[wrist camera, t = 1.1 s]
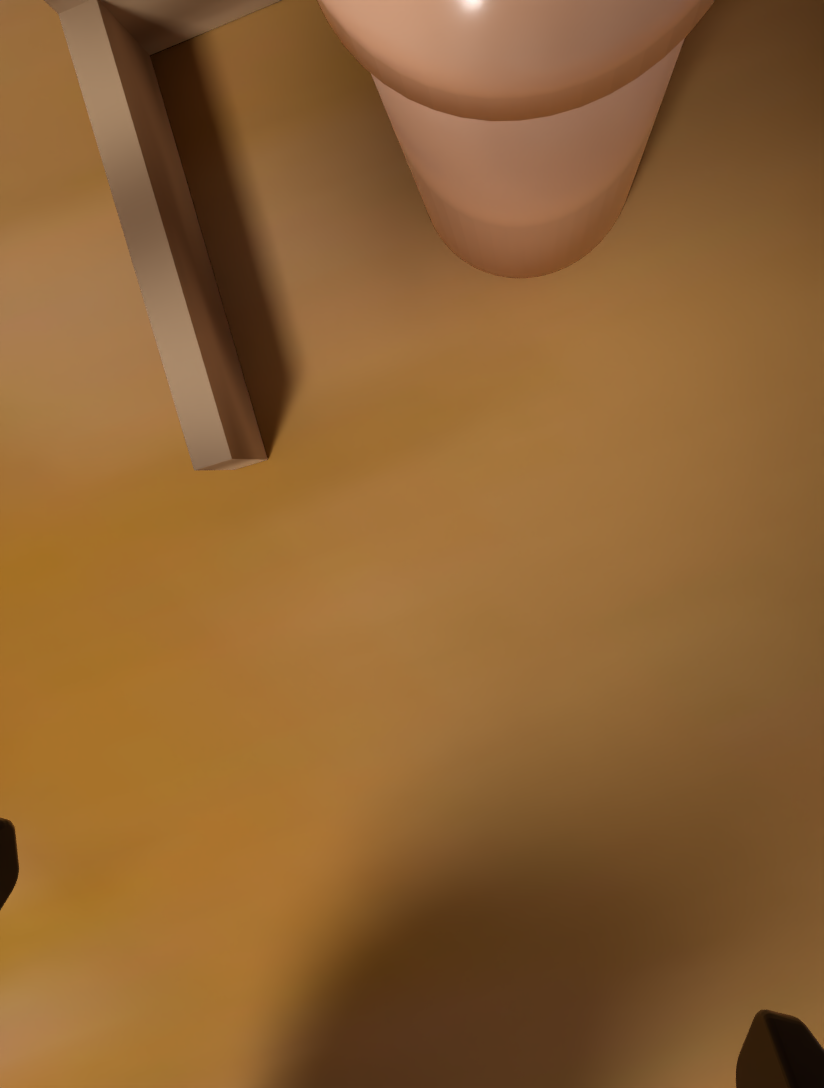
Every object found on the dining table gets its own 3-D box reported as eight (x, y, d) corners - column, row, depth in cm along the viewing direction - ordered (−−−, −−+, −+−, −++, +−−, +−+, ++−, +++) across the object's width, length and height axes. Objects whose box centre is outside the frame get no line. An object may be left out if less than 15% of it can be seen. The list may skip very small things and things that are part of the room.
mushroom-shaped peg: (672, 246, 18) (876, -67, 8) (444, 320, 19) (336, 137, 9) (611, 8, 18) (734, -680, 7) (383, 96, 19) (189, -391, 8)
